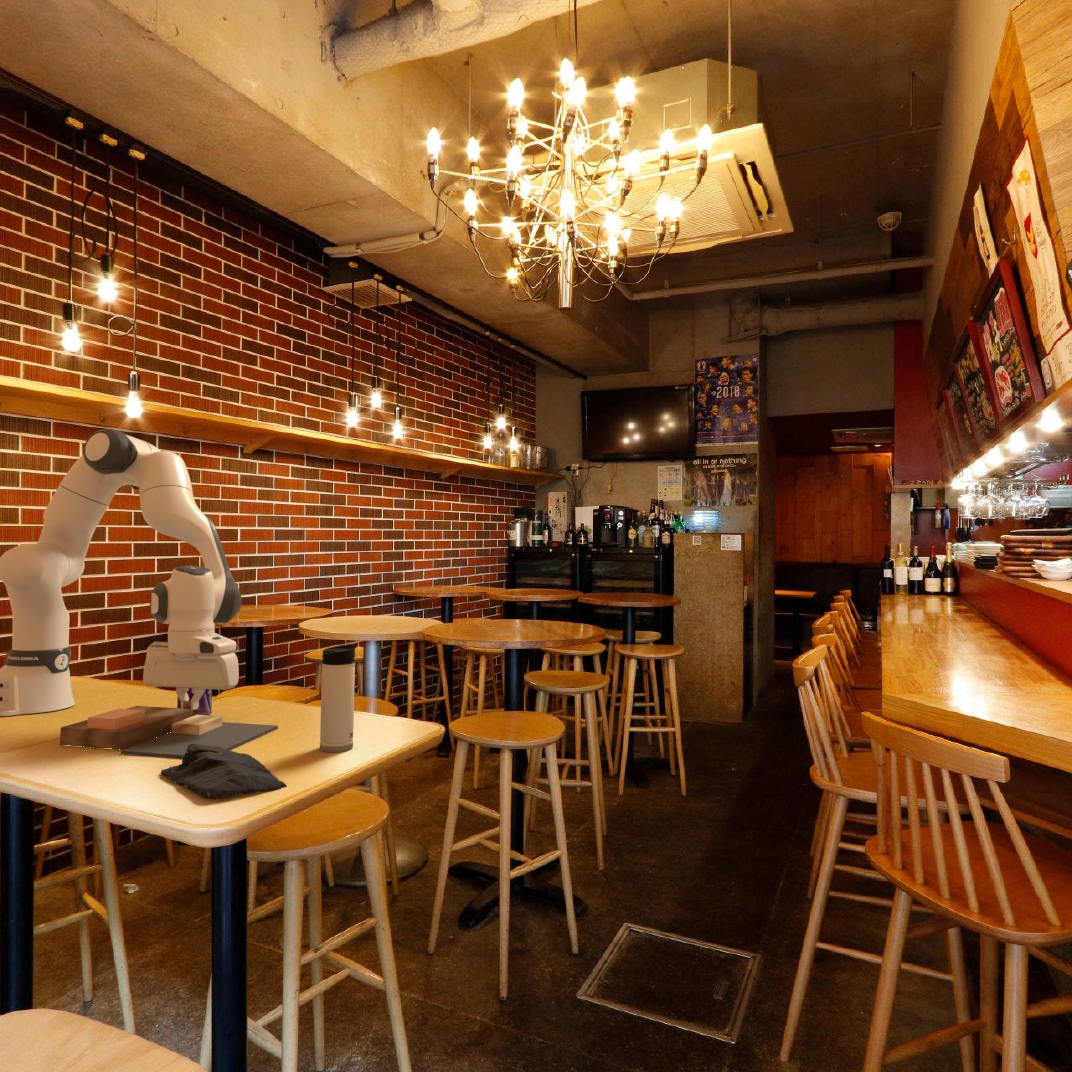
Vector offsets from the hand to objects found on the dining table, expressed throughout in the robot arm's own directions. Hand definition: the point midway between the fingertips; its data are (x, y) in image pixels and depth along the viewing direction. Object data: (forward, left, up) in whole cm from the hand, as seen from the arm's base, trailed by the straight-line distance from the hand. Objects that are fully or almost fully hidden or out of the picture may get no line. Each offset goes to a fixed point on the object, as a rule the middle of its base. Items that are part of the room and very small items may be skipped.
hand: (189, 708), depth 148 cm
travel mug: (+35, -4, -5) cm, 36 cm away
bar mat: (+7, -5, -5) cm, 10 cm away
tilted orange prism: (-9, -10, -1) cm, 13 cm away
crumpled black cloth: (+25, -26, -6) cm, 37 cm away
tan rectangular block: (+2, 0, -4) cm, 5 cm away
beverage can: (-7, +11, -5) cm, 14 cm away
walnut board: (-10, -5, -5) cm, 12 cm away
